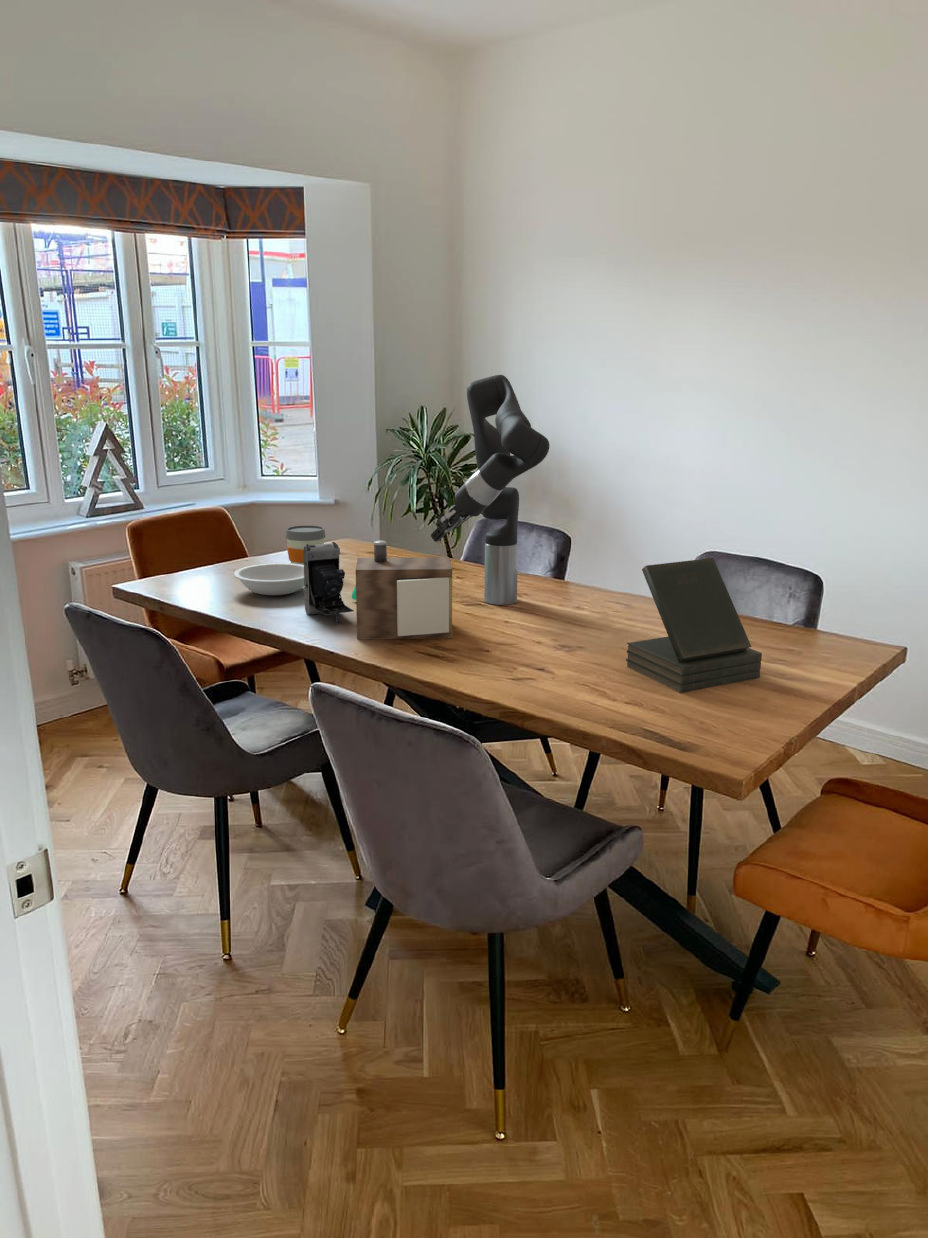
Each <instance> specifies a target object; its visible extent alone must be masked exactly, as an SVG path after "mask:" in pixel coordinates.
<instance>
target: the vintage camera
mask: <svg viewBox="0 0 928 1238" xmlns="http://www.w3.org/2000/svg"><path fill="white" fill-rule="evenodd" d="M340 555H341V548H340V546H339V544H338V543H337V542H335V541H332V543H331V542H330V543H324V544H319V545H308V544H306V546H304V554H303V556H304V587H303V588H304V591H303V592H304V594H303V595H304V611H305V615H308V616H310V615H319V614H322V615H324V616H328V615H335V619H336V620H335V621H336V625H341V620H340V614H345V613H351V612H354V611H355V610H354V609H352V608H350V607H349V606H347V605H345V603H344V600H343V598H342V595H341V592H342V590H343V588H344V579H345V576H346V572H345V570H344V569H340Z"/></svg>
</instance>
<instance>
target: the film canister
mask: <svg viewBox="0 0 928 1238" xmlns="http://www.w3.org/2000/svg"><path fill="white" fill-rule="evenodd" d="M387 544H388V542H387V541H386V540H375V541H373V558H374V561H375V562H386V561H387V558H388V556H387V554H388V553H387V552H388V551H387V550H388V549H387Z"/></svg>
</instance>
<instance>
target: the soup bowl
mask: <svg viewBox="0 0 928 1238" xmlns="http://www.w3.org/2000/svg"><path fill="white" fill-rule="evenodd" d="M233 577H234V578H235V579H238V580H240V582H241V583H242V585H243V586H244V587H245V588H247V589H248V590H249V591H251V592H253V593H255V594H259V595H262V596H263V595H264V596H283V595H288V594H293V593H295V592H297V591H300V590H302V588H304V565H301V564H292V563H291V562H290V563H287V562H286V563H285V562H273V563H272V562H271V563H261V564H254V565H248V566H244V567H241V568H238V569H237V570H235V571H234V572H233Z"/></svg>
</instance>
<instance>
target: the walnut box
mask: <svg viewBox="0 0 928 1238" xmlns="http://www.w3.org/2000/svg"><path fill="white" fill-rule="evenodd" d="M356 561H357V562H356V565H355V585H356V600H355V601H356V606H355V607H356V639H357V640H404V639H406V640H407V639H411V640H413V639H415V640H416V639H417V640H418V639H422V640H423V639H453V631H452V632H447V633H434V634H421V635H408V636H398V632H397V580H411V579H428V578H444V577H452V578H453V566H452V562H451V559H450V556H442V557H441V556H439V557H438V556H435V557H434V556H430V557H429V556H427V557H426V556H425V557H423V556H421V557H419V556H418V557H410V556H409V557H407V556H406V557H387V561H386V562H375V561H374V557H357V560H356Z"/></svg>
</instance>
